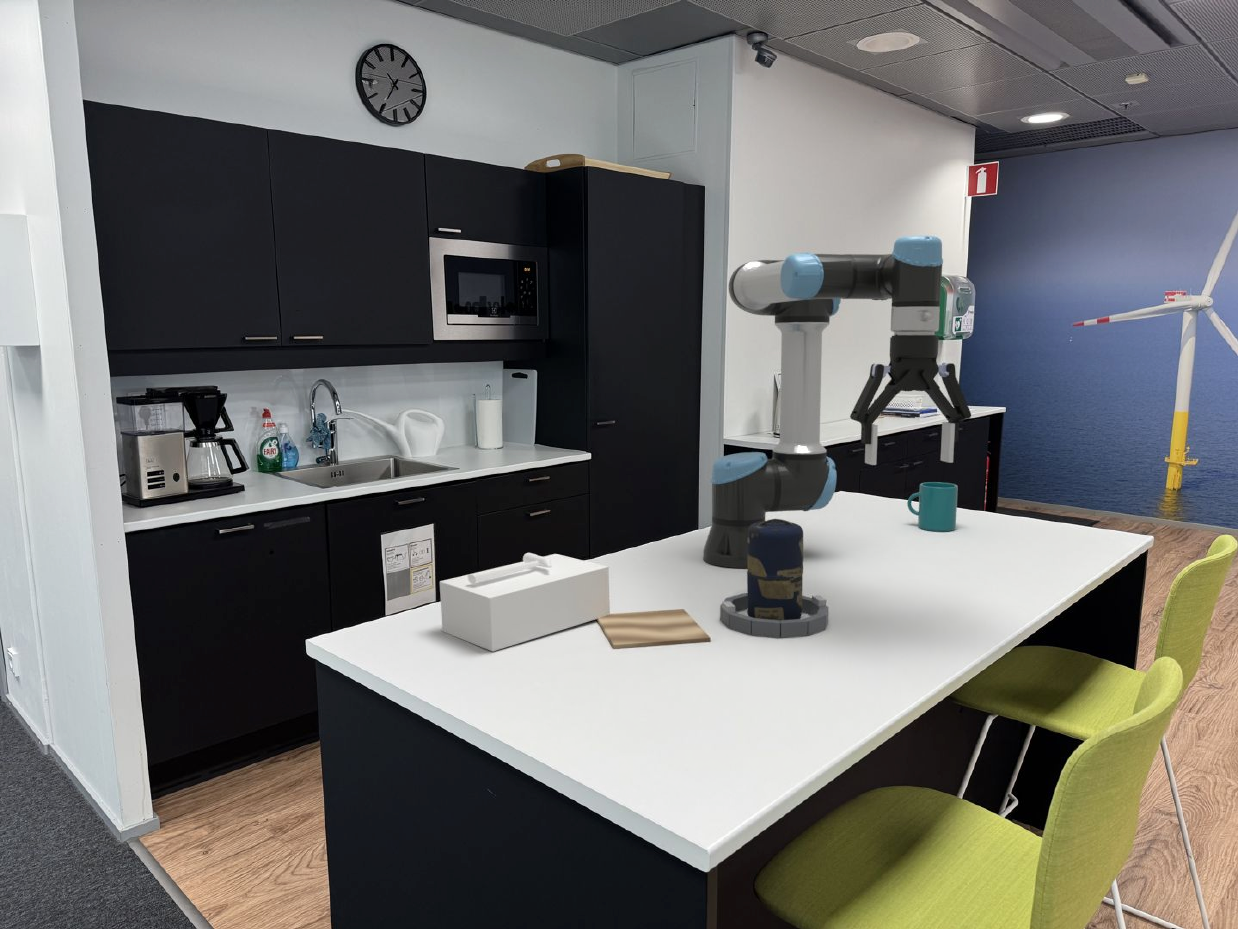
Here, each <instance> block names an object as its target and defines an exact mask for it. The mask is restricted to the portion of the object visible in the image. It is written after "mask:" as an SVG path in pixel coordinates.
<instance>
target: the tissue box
mask: <svg viewBox="0 0 1238 929" xmlns="http://www.w3.org/2000/svg"><path fill="white" fill-rule="evenodd" d="M609 569H610V567H609V566H608V565H607V566H606V565H603V564H598V563H594V562H591V561H586V560H582V559H578V558H574V557H570V556H566V555H562V554H557V553H553V554H548V555H545V556H541V555H538V554H536V553H532V552H527V553H524V555H523V556H522V561H520V562H515V563H512V564H507V565H502V566H498V567H495V568H494V567H493V568H490V569H486V570H482V571H478V572H477V571H476V572H474V573H470V574H469V573H468V574H465V575H462V576H457V577H453V578H448V579H444V580H440V581H439V592H440V608H441V609H440V610H441V612H440V613H441V627H442V628H441V630H442V632H444V633H446V634H449V635H451V636H454V637H456V638H458V639H462V641H466V642H468V643H471V644H473V645H476V646H478V647H481V648H483V649H486V650H488V651H490V652H495V651H498V650H499V651H500V650H502V649H504V648H509V647H511V646H514V645H517V644H520V643H524V642H528V641H530V640H531V641H532V640H533V639H536V638H540V637H543V636H546V635H550V634H552V633H556V632H559V631H562V630H565V629H569V628H573V627H574V626H579V625H582V624H585V623H587V622H591V621H594V620H596V619H598V618H601V617H604V616H607V615H610V614H611V612H610V611H611V606H610V603H611V602H610V577H609V576H610V574H609V571H610V570H609Z"/></svg>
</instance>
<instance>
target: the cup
mask: <svg viewBox="0 0 1238 929" xmlns="http://www.w3.org/2000/svg"><path fill="white" fill-rule="evenodd" d="M958 487H959V486H958V485H957V484H955V483H950V482H938V481H933V482H932V481H930V482H929V481H928V482H922V483H920V484H919V492H915V493H912V494H911V495H910V496H909V498H908V499H907V503H906V504H907V508H908V511H909V512H911V514H913V515H915V516H917V518H918V519H917V520H918V523H917V525H918V528H920V529H921V528H922V529H921V530H924V531H928V532H942V533H943V532H951V531H954V530H955V529H956V527H957V526H956V525H957V510H958V509H957V508H958V507H957V506H958V491H959V489H958ZM917 497H918V498H919V499H918V511H917V510H915V509H914V507H913V505H912V501H913V499H915V498H917Z"/></svg>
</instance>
